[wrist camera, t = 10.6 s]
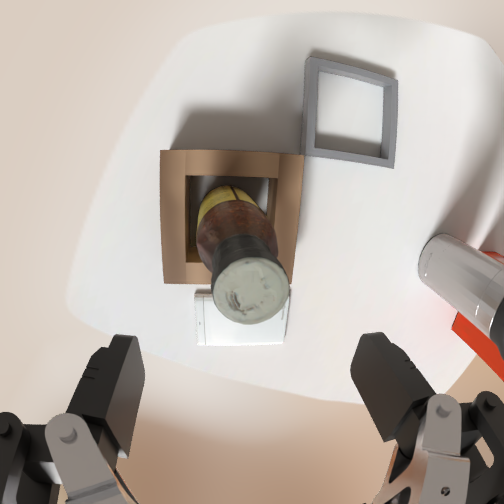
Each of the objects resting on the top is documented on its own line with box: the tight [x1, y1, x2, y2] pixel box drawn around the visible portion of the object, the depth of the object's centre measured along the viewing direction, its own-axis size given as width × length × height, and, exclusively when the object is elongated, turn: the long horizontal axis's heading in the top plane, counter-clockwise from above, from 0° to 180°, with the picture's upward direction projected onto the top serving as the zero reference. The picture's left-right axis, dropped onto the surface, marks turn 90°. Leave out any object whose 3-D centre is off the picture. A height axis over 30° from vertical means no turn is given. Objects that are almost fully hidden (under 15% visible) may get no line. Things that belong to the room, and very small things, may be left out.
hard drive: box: [194, 294, 290, 346], centre depth 38 cm, size 2×8×12 cm
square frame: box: [300, 57, 398, 169], centre depth 29 cm, size 12×12×2 cm
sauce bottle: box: [196, 185, 290, 325], centre depth 23 cm, size 6×6×20 cm
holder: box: [160, 150, 304, 284], centre depth 30 cm, size 14×14×5 cm
